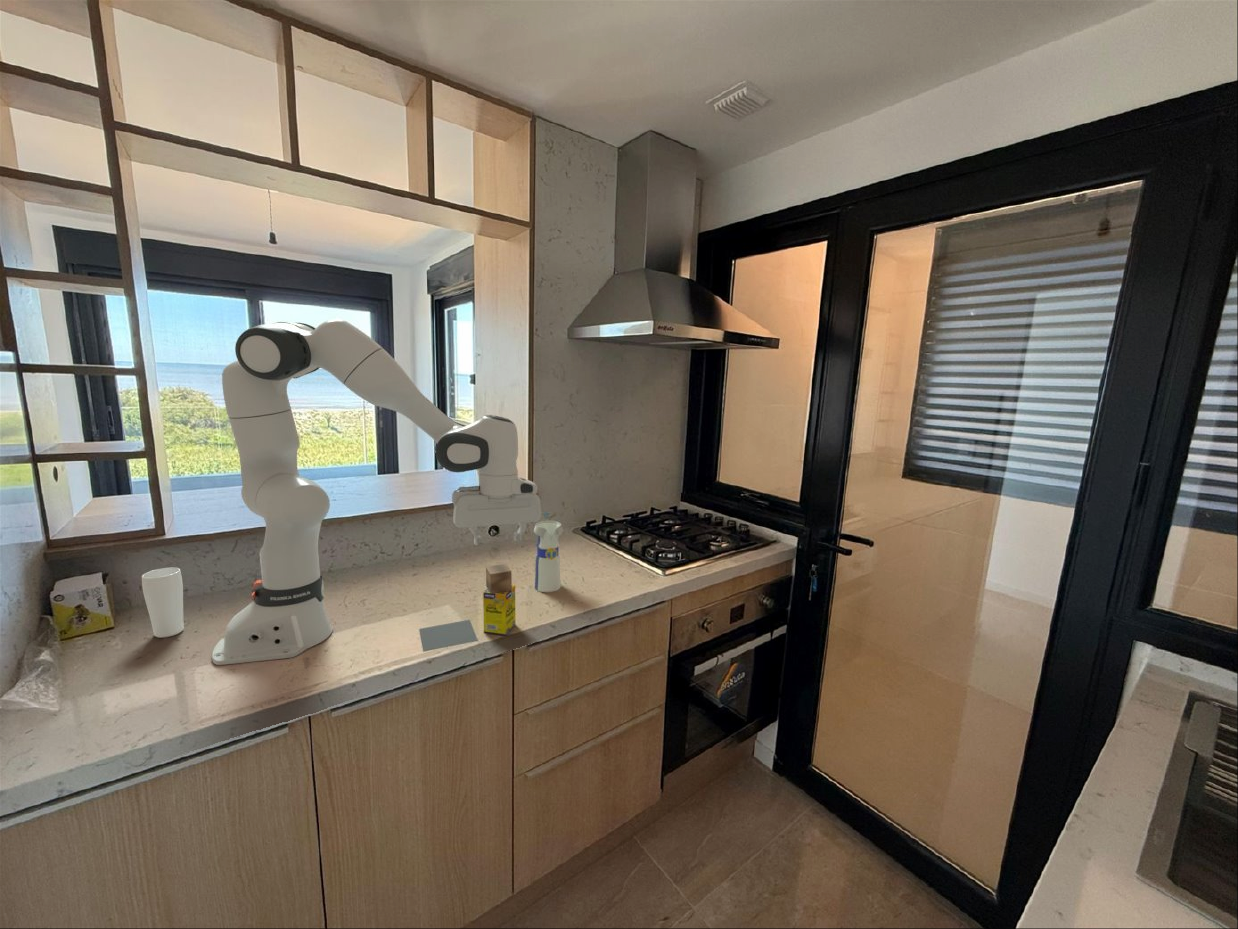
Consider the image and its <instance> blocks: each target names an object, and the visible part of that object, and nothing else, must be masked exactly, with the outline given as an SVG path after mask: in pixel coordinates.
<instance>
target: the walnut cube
mask: <svg viewBox="0 0 1238 929" xmlns="http://www.w3.org/2000/svg"><path fill="white" fill-rule="evenodd" d="M512 576H513V575H512V569H511V568H510V567H509V566H508V564H507V563H503V564H495V565H488V566H485V582H486V583H485V585H486V588H487V589H488V590H489V592H490V594H495V593H501V592H507V591H512V585H513V584H512V580H513V579H512V578H513V577H512Z"/></svg>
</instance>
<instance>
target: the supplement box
mask: <svg viewBox="0 0 1238 929" xmlns="http://www.w3.org/2000/svg"><path fill="white" fill-rule="evenodd" d="M482 597H483V600H482V602H483V634H488V635H495V636H503V637H507V635H508V634H509V633H510V632H511V630H513V628H514V627H515V626H516V585H515V584H512V591H507V592H501V593H495V594H490V592H489V590H488V588H487V589H486V590H484V591H483V592H482Z"/></svg>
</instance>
